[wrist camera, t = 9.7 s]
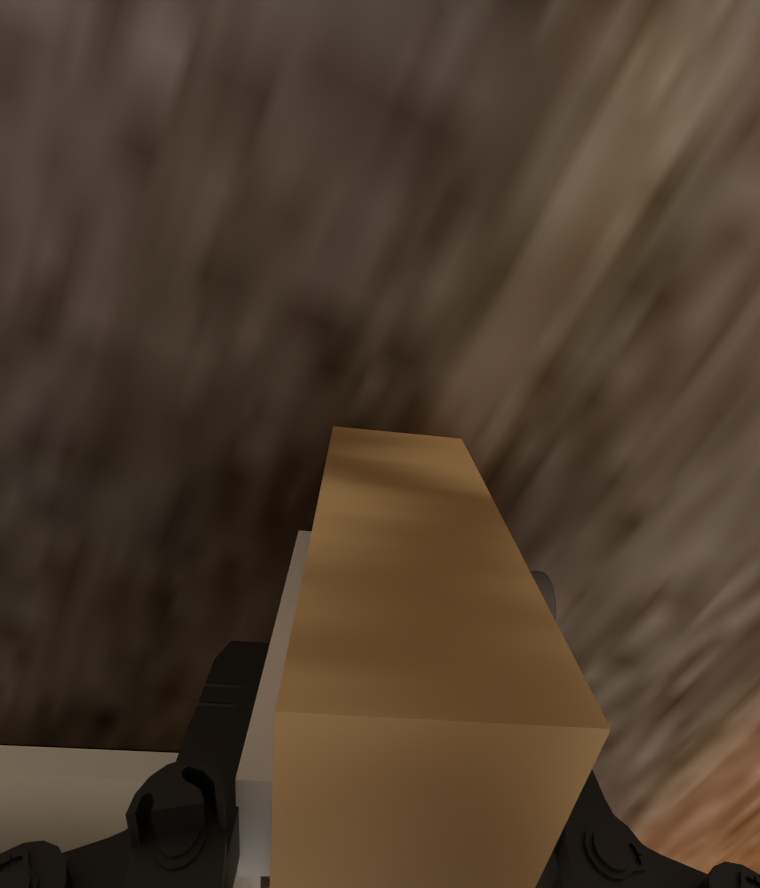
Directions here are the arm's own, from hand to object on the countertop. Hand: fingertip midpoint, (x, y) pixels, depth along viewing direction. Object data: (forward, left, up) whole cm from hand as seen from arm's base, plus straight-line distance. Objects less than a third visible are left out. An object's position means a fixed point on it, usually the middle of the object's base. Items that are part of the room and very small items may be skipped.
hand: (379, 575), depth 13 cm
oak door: (0, -2, 0) cm, 2 cm away
